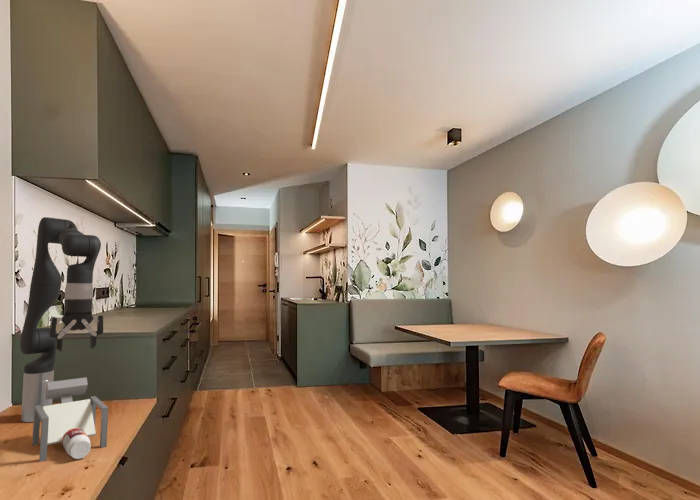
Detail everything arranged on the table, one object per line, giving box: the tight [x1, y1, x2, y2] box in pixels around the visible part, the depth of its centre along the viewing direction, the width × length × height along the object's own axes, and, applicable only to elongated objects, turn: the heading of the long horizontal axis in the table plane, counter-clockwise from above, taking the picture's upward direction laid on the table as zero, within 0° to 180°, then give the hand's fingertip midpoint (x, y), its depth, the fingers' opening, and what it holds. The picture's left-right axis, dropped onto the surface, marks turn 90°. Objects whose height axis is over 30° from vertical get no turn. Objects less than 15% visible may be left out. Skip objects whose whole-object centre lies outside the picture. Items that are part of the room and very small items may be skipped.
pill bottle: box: [61, 428, 92, 460], centre depth 129 cm, size 6×6×11 cm
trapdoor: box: [43, 377, 97, 446], centre depth 138 cm, size 19×13×5 cm
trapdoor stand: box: [31, 395, 109, 463], centre depth 136 cm, size 17×17×12 cm
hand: (76, 349), depth 136 cm, fingers open, 8 cm apart
